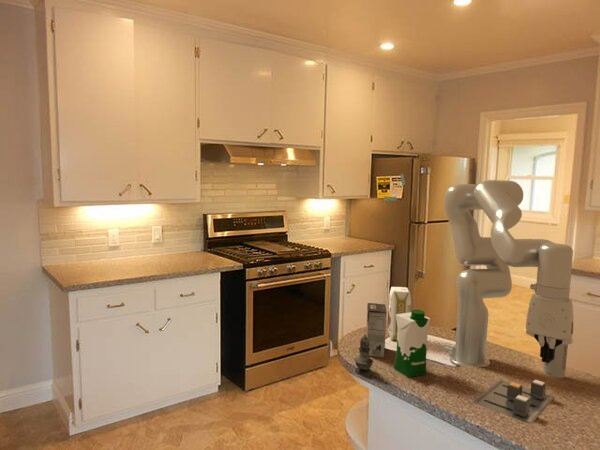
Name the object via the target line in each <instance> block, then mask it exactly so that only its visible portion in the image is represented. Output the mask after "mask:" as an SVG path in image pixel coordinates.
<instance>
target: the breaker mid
mask: <svg viewBox="0 0 600 450" xmlns="http://www.w3.org/2000/svg"><path fill="white" fill-rule="evenodd" d="M522 387H524V386H523V385H522V384H519V383H516V382H513V381H510V384H509V385H508V388H507V396H506V399H509V400H512V401H514V398H515V397H516V396H518V395H520V396H522Z"/></svg>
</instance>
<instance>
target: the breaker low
mask: <svg viewBox="0 0 600 450" xmlns="http://www.w3.org/2000/svg"><path fill="white" fill-rule="evenodd" d="M529 407H530V399H529V398H526V397H523V396H520V395H518V396H516V397H515V398H514V408H513V412H512V413H515V414H518V415H521V416H523V417H525V416H526V415H527V414H528V413H529V412H530V410H529Z"/></svg>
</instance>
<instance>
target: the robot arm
mask: <svg viewBox="0 0 600 450" xmlns="http://www.w3.org/2000/svg"><path fill="white" fill-rule="evenodd" d="M444 194H445V195H444V199H443V207H444V212H445V215H446V218H447V220H448V222H449V226H450V228H451V234H452V240H453V246H454V252H455V255H456V256H455V257H456V259H457V261H458V263H459V264H460V265H462V266H469V267H471V266H473V267H474V266H475V267H477V266H485V267H486V268H470V269H465V270H463V271H461V272H459V274H458V275H457V276H456V285H455V286H456V290H457V291H456V292H457V314H456V315H457V318H456V332H455V333H456V334H455V344H452V343H449V342H445V343H444V350H445V351H448V352H450V353H451V354H450V356H449V361H450V362H451V363H452V364H454V365H455V366H457V367H463V366H466V367H471V368H482V367H483V368H484V367H487V366H489V365H490V364H491V362H490V359H489V358H487V357H486V354H487V353H486V352H487V351H486V350H487V340H488V339H487V338H488V328H489V327H488V325H489V310H488V307H487V306H486V304H485V302H484V299H492V298H493V299H494V298H505V297H507V296H508V295H509V294H510V293H511V291H512V287H513V281H512V276H511V270H510V267H511V268H512V267H513V268H537V271H536V282H535V283H534V284H532V283H531V284H530V285H529V289H531V290H533V291H534V293H533V294H531V297H530V300H529V303H528V309H527V313H526V320H525V321H526V322H525V330H526V331H525V334H526V335H528V336H530V337H533V338H534V339H535V340H536V341H537V343H538V345H539V346H540V351H539V357H540V358H541V362H543V363H544V362H546V363H550V362H551V361H552V360H554V356H555V347H557V346H559V345H560V344H568V345H572V344H573V342H574V340H573V334H574V306H573V300H572V299H571V298H570V291H571V281H572V269H573V268H572V267H573V259H574V258H573V257H574V256H573V255H574V250H573V248H572V246H570V245H568V244H563V243H556V242H553V241H552V240H548V239H545V238H544V239H543V238H517V239H516V238H514V237H513V235H512V234H511V233H510V232H509V230H510V229H513V228H514V227H515V226H516V225H517V224H518V223H519V222H520V221H521V219H522V215H523V213H522V210H521V208H520V205H521V203H522V202H523V201H524V190H523V188H522V186H521V184H519V183H518V182H516V181H514V180H497V179H493V180H492V179H490V180H488V179H487V180H483V181H481V182H480V183H478V184H473V183H470V184H469V183H462V184H456V185H452V186H450V187H449V188H448V189H447V190H446V192H445V193H444ZM468 210H472V211H473V210H476V211H477V210H478V211H479V210H481V211H483V212H484V214H485V215H486V216H487V218H488V219H489V221H490V222H491V223H492V226H491V228H490V236H488V237H485V236H484V237H483V236H481V234H480V231H479V226H478V223H477V221H476V219H475V217H473V216H472V215H471V213H470V212H469V211H468ZM547 337H549V338H551V340H550V344H548V343H547Z"/></svg>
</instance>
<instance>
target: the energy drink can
mask: <svg viewBox="0 0 600 450" xmlns="http://www.w3.org/2000/svg"><path fill="white" fill-rule="evenodd" d="M550 340H551V338H549V337H547V343H548V344H550ZM568 347H569V344H560V345H559V346H557V347H555V356H554V360H552V361H551V362H550V363H546V362H543V368H542V373H543V374H544V375H546V376H549V377H551V378H555V379H556V378H557V379H563V378H566V370H567V368H566V367H567V358H568Z"/></svg>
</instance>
